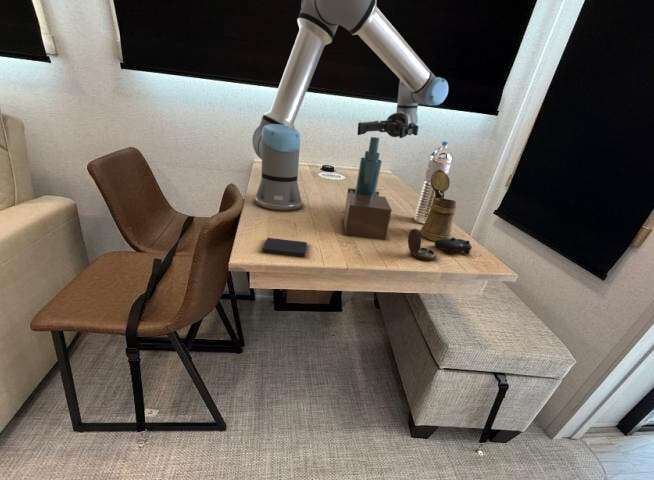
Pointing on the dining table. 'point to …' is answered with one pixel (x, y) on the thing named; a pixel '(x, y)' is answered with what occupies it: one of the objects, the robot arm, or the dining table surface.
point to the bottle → (369, 170)
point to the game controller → (454, 245)
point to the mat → (285, 247)
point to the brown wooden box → (366, 216)
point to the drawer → (352, 190)
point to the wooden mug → (439, 210)
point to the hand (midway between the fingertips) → (379, 131)
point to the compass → (419, 246)
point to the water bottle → (436, 162)
